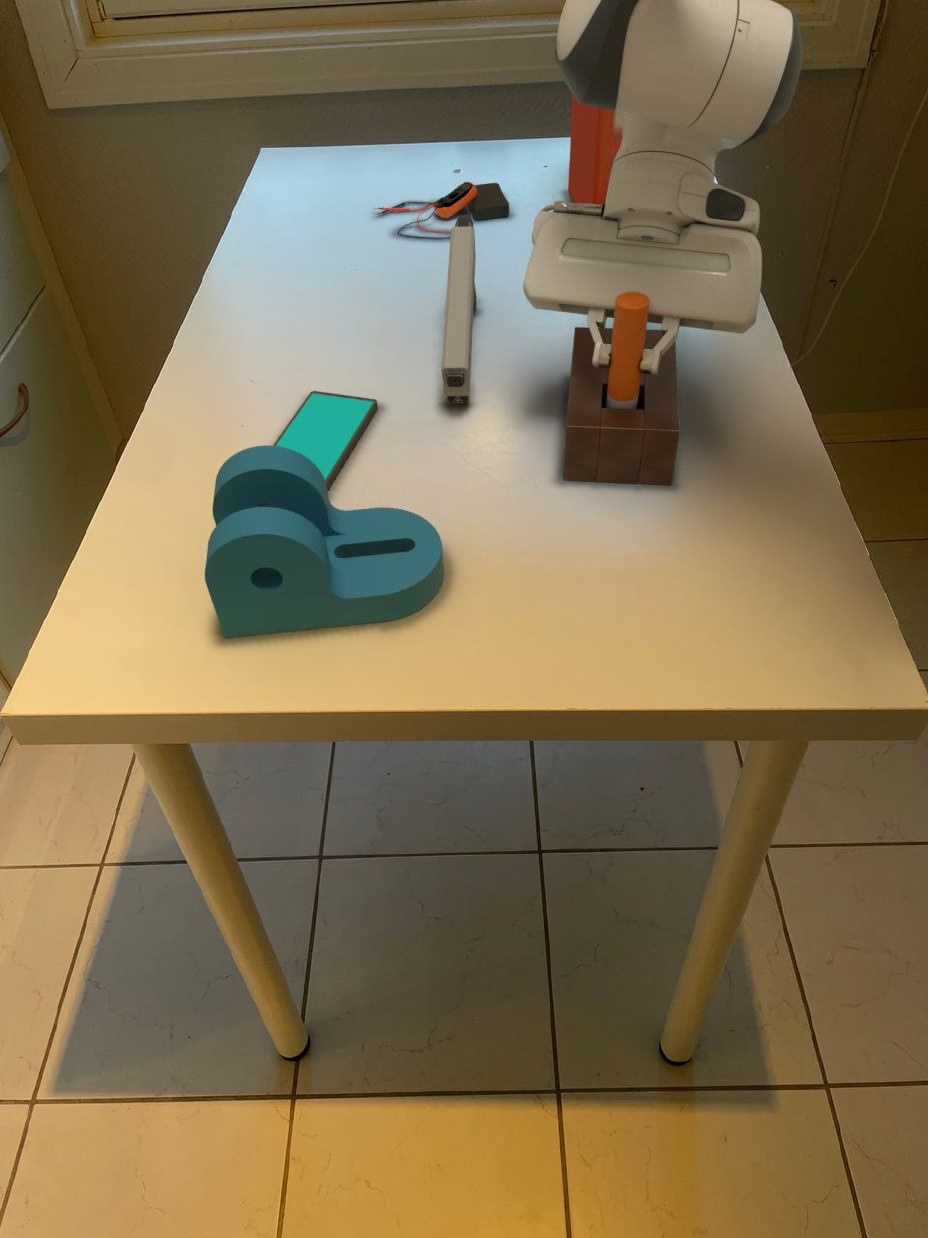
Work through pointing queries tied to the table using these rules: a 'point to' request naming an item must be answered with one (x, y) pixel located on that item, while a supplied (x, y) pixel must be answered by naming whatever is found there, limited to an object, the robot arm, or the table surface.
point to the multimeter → (465, 203)
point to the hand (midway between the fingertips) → (624, 369)
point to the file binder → (592, 151)
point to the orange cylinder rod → (627, 350)
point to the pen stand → (621, 420)
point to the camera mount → (310, 551)
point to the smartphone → (327, 429)
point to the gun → (459, 312)
